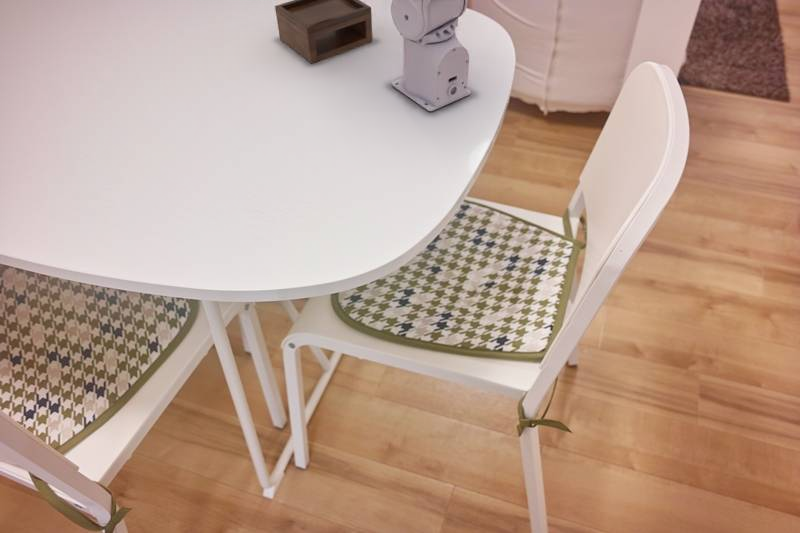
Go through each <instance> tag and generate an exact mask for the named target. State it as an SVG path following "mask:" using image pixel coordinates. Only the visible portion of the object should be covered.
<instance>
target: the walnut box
mask: <svg viewBox="0 0 800 533" xmlns="http://www.w3.org/2000/svg"><path fill="white" fill-rule="evenodd" d="M274 11H275V16H276V22H277V29H278V34H279V40H280V41H281V43H283V44H284V45H286V46H287V47H289V48H290V49H291V50H292V51H294V52H295V53H297V55H299V56H301V57H302V58H303V59H304V60H306V61H307V62H308V63H310V64H311V65H312V64H314V63H317V62H321V61H323V60H326V59H328V58H332V57H334V56H336V55H339V54H342V53H344V52H347V51H350V50H353V49H356V48H359V47H361V46H364V45H366V44H369V43H372V42H374V41H373V19H372V15H373V14H372V7H371V6H370V5H368V4H366V3H365V2H364V1H362V0H290V1H287V2H284V3H281V4H277V5H275V6H274Z"/></svg>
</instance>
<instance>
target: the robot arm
mask: <svg viewBox="0 0 800 533" xmlns="http://www.w3.org/2000/svg"><path fill="white" fill-rule="evenodd" d="M468 3H469V0H391V4H390V14H391V19H392V22H393V24H394V26H395V28H396V30H397V31H398V32H399V35H400V36H401V37H403V42H402V44H403V46H402V48H403V50H402V51H403V57H402V58H403V76H402V77H400V78H398V79H395V80H393V81H391V86H392V87H394V89H396V90H397V91H399V92H400V93H401V94H404V95H405V96H406V97H408V98H409V99H411V100H412V101H414V102H415V103H416V104H418V105H419V106H420V107H422V108H423V109H425V110H426V111H428V112H433V111H436V110H437V109H441V108H442V107H444V106H447V105H449V104H452V103H453V102H456V101H458V100H461V99H463V98H465V97H467V96H469V95H471V94H472V92H471V90H470V89H469V88H468V80H469V69H470V68H469V66H470V55H469V51H468V50H467V48H466V47H465V46H463V45H462V44H461V42H460V41H459V40H458V38H457V33H456V28H457V27H458V26H459V18H460V17H462V16H463V15H464V14H465V12H466V10H467V8H468Z"/></svg>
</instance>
